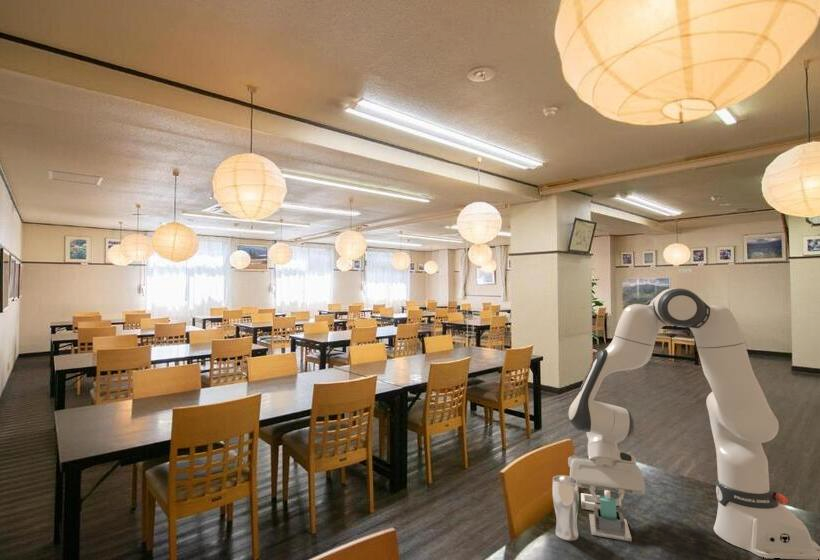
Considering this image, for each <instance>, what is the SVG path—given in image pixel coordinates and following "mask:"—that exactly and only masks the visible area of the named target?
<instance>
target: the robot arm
mask: <svg viewBox="0 0 820 560" xmlns="http://www.w3.org/2000/svg"><path fill="white" fill-rule="evenodd" d="M665 326H671V327H680V328H689V329H690V331H691V333H692V335H693V336H694V341H695V344H696V350H697V353H698V356H699V361H700V364H701V367H702V371H703V374H704V377H705V378H706V380H707V382H708V384H709V386H710V389H711V392H710V393H709V394H708V395H707V397H706V401H705V402H706V403H705V405H706V408H707V413H708V416H709V423H710V428H711V433H712V437H713V442H714V447H715V453H716V465H717V466H716V467H717V468H716V470H717V478H716V479H715V481H716V485H715V486H716V487H715V492H716V500H717V512H716V513H717V514H716V516H715V517H716V519H715V522H714V525H713V531H714V533H715V534H716V535H717V536H718V537H719V538H720V539H722V540H723V541H725V542H727V543H729V544H731V545H733V546H736V547H738V548H740V549H743V550H746V551H749V552H750V553H752V554H754V555H756V556H758V557H760V558H763V557H764V559H774V558H780V559H781V560H785V559H786V560H818V559H819V560H820V545H819V544H818V543H817V542H816V541H814V540H813V539H812V537H811V534H810V532H809V529H808V528H807V526H806V525H805V524H804V522H802V521H801V519H799V518H798V517H797V516H795V515H794V514H793V513H792V512H791V511H789V510H788V509H787V508H785V507H784V506H782V505H787V504H788V503H789V499H788V498H787V497H786V496H784V495H783V494H781V493H778V492H777V491H776V490H775V489H773V488H771V487H770V478H769V477H770V475H769V461H768V457H767V455H766V453H765V450H764V448H763V445H762V444H763V443H769V442H770V441H772V440H773V439H775V437H776V436H777V435H778V433H779V430H780V429H779V428H780V425H779V421H778V420H779V419H778V418H777V417H776V415H775V414H774V412H773V410H772V408H771V407H770V405H769V403H768V400H767V397H766V396H765V394H764V391H763V389H762V387H761V385H760V383H759V381H758V379H757V377H756V375H755V372H754V370H753V367H752V363H751V360H750V357H749V353H748V350H747V346H746V343H745V339H744V336H743V333H742V330H741V328H740V326H739V323H738V322H737V319H736V318H735V315H734V313H733V312H732V311H731V309H729V307H726V306H722V305H717V304H712V305H708V304H707V303H706V302H704V300H702V298H700V296H698V295H697V294H696V293H695V292H693V291H691V290H689V289H686V288H679V287H671V288H667V289H665V290H662V291H660V292H659V293H656V295H655V296H653V297H652V298H651V299H650V300H649V301H648V302H647V303H646V304H641V303H633V304H629V305H628V306H626V307H625V308H624V309H623V311H622V313H621V314H620V317H619V319H618V322H617V325H616V327H615V331H614V334H613V338H612V340H611V342H610V343H609V344H608V346H607V347H606V348H604V349H601V350H599V351H598V352H597V353H596V355H595V356H594V358H593V360H592V362H591V363H590V365H589V367H588V370H587V372H586V374H585V376H584V379H583V381H582V382H581V385H580V386H579V387H580V388H579V389H578V392H577V394H576V395H575V397H574V398H573V399H572V402H571V404H570V406H569V408H568V413H567V414H568V415H567V416H568V420H569V422H570V424H571V425H572V426H573V427H574V428H575V430H577V431H578V432H579V431H580V432H586V433H585V434H586V438H587V440H588V441H587V455H579V454H578V455H577V454H573V455H571V456H569V457H568V458H567V466H568V468H570V469H569V476H570V477H573V478H575V479H576V480H577V484H578V488H586V489H589V492H590V494H591V495H592V496H593V497H594V499H595V504H597V505H600V497H599V496H600V495H598V494H597V493H596V490H599V491H605V490H608V491H610V492H614V493H618V494H617V495H618V496H619V497H618V498H615V500H616V508H620V509H622V508H623V507H622V501H623V500H624V498H625V494H626V495H627V494H629V495H636V496H642V495H644V494H645V492H646V484H645V480H644V476H643V474H642V471H641V469H640V467H639V466H638V465H637V459H636V457H635V455H633V454H630V453H627V452H625V451H622V450H620V449H619V447H618V443H620V442H623V441H625V440H627V439H628V438H630V437H631V436H632V435H633V434H634V431H635V422H634V418H633V416H632V414H631V412H630V410H629V409H627V408H624V407H623V406H618V405H614V404H609V403H605V402H601V401H597V400H595V398H596V396H597V394H598V391H599V389H600V387H601V384H603V383H602V382H603V380H604V379H605V378H606V377H607V376H608V375H610V374H612V373H616V372H623V371H631V370H636V369H639V368H641V367H644V366H645V365H647V364H648V362H649V361H650V360H651V358H652V356H653V352H654V348H655V345H656V340H657V336H658V334H659V332H660V330H661V329H662V328H663V327H665ZM597 495H598V496H597ZM780 559H779V560H780Z"/></svg>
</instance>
